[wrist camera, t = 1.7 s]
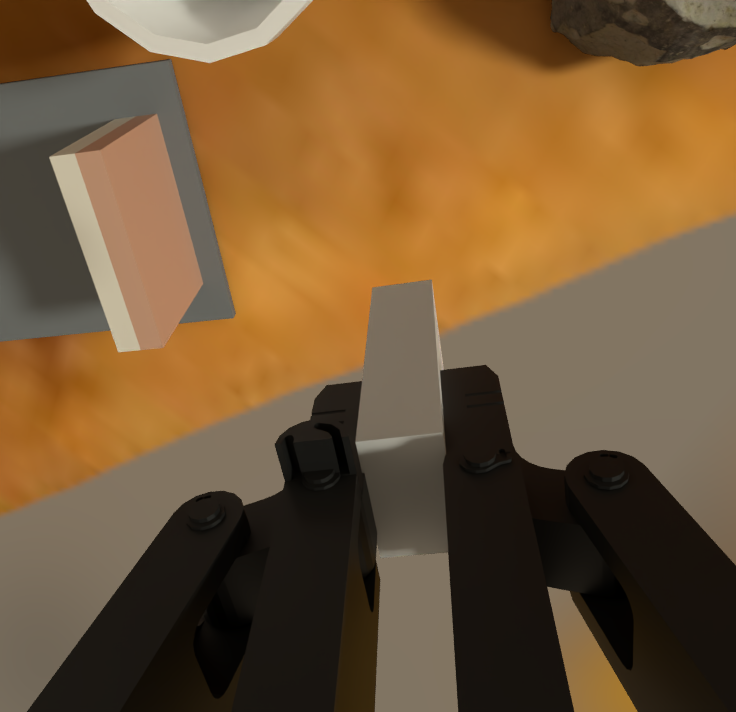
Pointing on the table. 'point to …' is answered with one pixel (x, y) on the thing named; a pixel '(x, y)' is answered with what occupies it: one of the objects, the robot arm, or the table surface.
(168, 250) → the tile
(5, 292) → the mat
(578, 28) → the fossil
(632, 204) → the table surface
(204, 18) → the foam cup
